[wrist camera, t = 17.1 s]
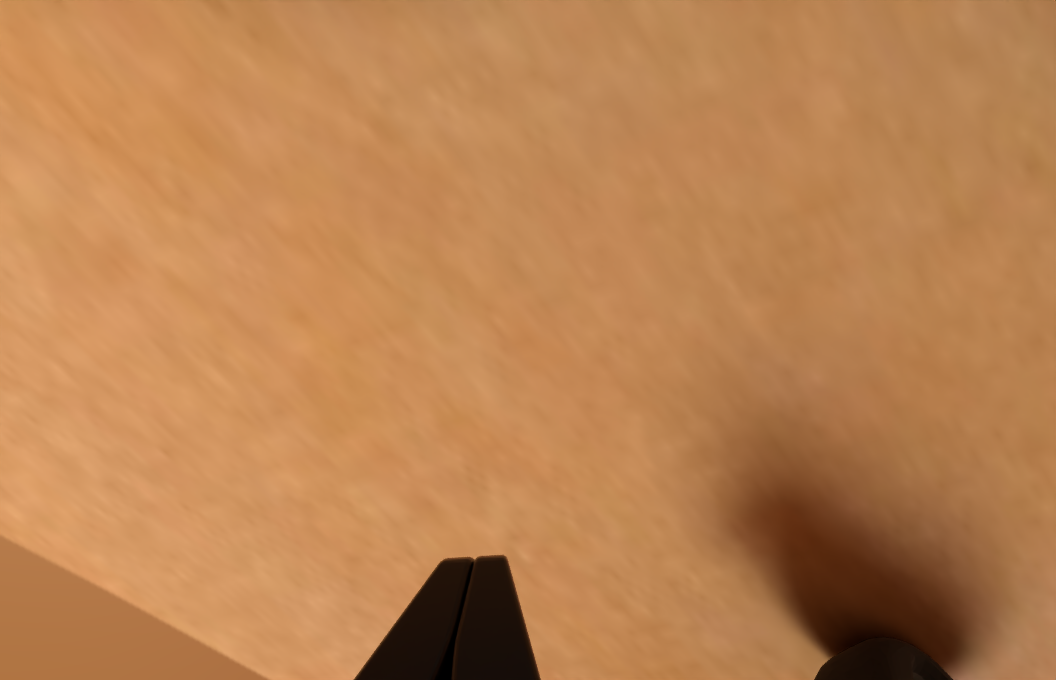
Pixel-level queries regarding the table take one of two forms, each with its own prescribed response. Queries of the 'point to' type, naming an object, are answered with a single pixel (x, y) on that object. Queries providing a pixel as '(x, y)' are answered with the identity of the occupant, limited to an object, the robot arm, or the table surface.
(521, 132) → the table surface
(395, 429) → the table surface
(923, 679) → the controller
